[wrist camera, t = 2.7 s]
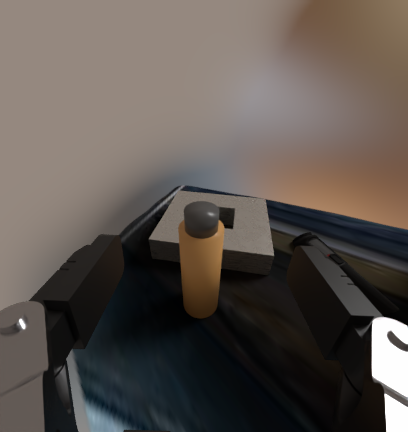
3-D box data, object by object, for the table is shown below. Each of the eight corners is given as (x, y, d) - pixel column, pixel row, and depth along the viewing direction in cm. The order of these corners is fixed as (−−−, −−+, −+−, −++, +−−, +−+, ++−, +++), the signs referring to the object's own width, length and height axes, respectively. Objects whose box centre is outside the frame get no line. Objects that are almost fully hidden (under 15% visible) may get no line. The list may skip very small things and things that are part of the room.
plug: (219, 289, 27) (228, 200, 20) (215, 321, 24) (223, 227, 16) (188, 284, 28) (184, 196, 20) (179, 314, 24) (170, 221, 17)
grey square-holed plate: (261, 215, 43) (265, 199, 40) (268, 275, 30) (274, 255, 27) (179, 206, 45) (178, 190, 43) (152, 258, 32) (148, 239, 30)
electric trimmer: (372, 329, 24) (386, 314, 22) (289, 243, 36) (294, 229, 34) (394, 319, 25) (410, 305, 23) (306, 239, 37) (312, 225, 35)
